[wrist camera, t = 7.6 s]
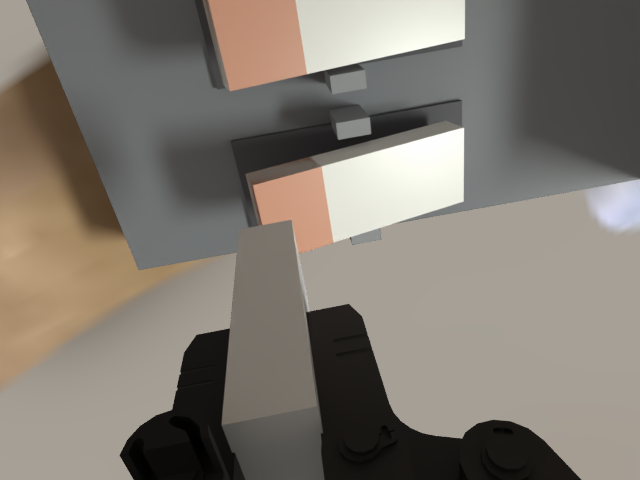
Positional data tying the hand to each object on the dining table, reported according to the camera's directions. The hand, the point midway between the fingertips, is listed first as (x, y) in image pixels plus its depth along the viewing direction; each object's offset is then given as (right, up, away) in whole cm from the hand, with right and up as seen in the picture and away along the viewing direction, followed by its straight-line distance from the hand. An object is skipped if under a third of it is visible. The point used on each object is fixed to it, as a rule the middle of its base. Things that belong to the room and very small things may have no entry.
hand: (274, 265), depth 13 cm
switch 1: (+2, +8, +1) cm, 8 cm away
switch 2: (+3, +3, +4) cm, 5 cm away
